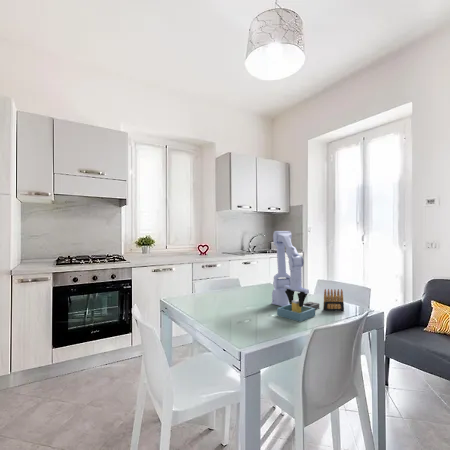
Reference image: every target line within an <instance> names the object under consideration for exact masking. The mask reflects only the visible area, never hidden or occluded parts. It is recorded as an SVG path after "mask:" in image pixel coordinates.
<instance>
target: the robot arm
mask: <svg viewBox="0 0 450 450" xmlns="http://www.w3.org/2000/svg"><path fill="white" fill-rule="evenodd" d="M292 235H293V234H292V232H291V230H274V231H273V234H272V240H273V241H272V242H273V245H274V246H275V247H276V261H277V262H276V263H277V273H276V274H275V275H274V276H273V288H274V289H272V293H271V304H272V305H276V306H280V307H283V306H286V305H289V304H292V300H294V296H295V292H297V293H296V294H297V297H298V298H297V299H298V300H299V307H302V306H303V304H304V303H305V300H306V297H307V295H308V294H309V293H310V289H307V288H305V287H303V285H302V283H303V281H302V272H303V270H302V268H303V266H304V262H305V261H304V258H303V256H302V255H301V254H299V253H298V250H297V247H296V246H293V243H292V238H293V236H292ZM286 256H287V258H288V265H289V266H288V267H289V271H290V273H289V274H288V273H287V266H286V265H287V262H286ZM271 304H270V305H271Z"/></svg>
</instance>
